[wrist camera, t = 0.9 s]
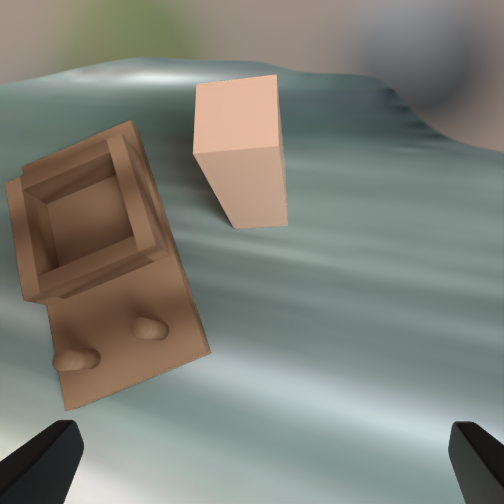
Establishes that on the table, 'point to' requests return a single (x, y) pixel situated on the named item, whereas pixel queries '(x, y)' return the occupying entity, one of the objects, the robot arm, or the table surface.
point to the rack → (103, 266)
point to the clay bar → (243, 149)
